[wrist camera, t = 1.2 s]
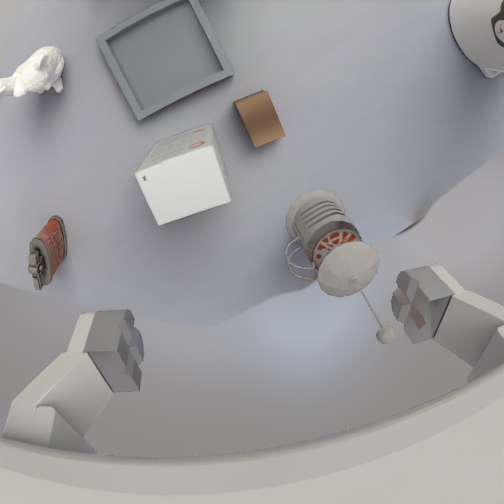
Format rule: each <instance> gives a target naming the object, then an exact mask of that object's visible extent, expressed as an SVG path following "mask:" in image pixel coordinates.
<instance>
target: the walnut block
mask: <svg viewBox="0 0 504 504" xmlns="http://www.w3.org/2000/svg"><path fill="white" fill-rule="evenodd" d="M234 103H235V105H236V108H237V110H238V112H239V114H240V116H241V119H242V121H243V123H244V125H245V128H246V130H247V132H248V134H249V137H250V139H251V141H252V143H253V145H254V147H255V148H257V147H259V146H261V145H264V144H266V143H269V142H271V141H274V140H276V139H279V138H281V137H284V136H285V134H284V131H283V128H282V126H281V123H280V121H279V118H278V116H277V113H276V111H275V109H274V106H273V104H272V101H271V99H270V96H269V94H268V92H267V91H263V90H262V91H259V92H256V93H254V94H251V95H249V96H246V97H244V98H241V99H239V100H237V101H234Z"/></svg>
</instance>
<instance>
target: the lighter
mask: <svg viewBox="0 0 504 504" xmlns="http://www.w3.org/2000/svg"><path fill="white" fill-rule="evenodd" d="M66 254H67V236H66V230H65V226H64V222H63V220H62V218H61V217H59V216H57V215H54V216H52V217H51V218H50V219H49V220H48V223H47V224H46V226H45V227H44V228H43V229H42V230H41V231H40V233H39V234H38V235H37V236H36V237H35V238H33V239H32V241H31V242H30V254H29V256H28V259H29V266H28V271H29V273H32V278H33V282H34V286H35V289H36V290H41V289H42V287H43V285H48V284H49V283H50V282H51V280H52V276H53V274H54V273H55V271H56V269H57V268H58V266H59V264H60V263H61V261H62V260H63V259H64V258H65V257H66Z"/></svg>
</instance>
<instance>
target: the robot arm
mask: <svg viewBox="0 0 504 504" xmlns="http://www.w3.org/2000/svg"><path fill="white" fill-rule="evenodd" d="M449 14H450V23H451V27H452V31H453V34H454V36H455V39H456V41H457V43H458V45H459V47H460V48H461V50H462V51H463V53H464V54H465V55H466V56H467V57H468V58H469V59H470V60H471V61H472V62H474V63H475V64H476V65H477V66H479V68H480V69H481V71H482V72H483V74H484V75H485V76H486V77H487V78H493V77H495V76H497V75H498V74H500V73H502V72H504V0H452V1H451V4H450V11H449ZM396 283H397V284H398V288H397V289H396V290H395V291H394V293H393V296H392V300H391V304H392V311H393V313H394V316H395V317H396V319H397V320H398V321H400V322H401V323H403V324H404V331H405V333H406V334H407V335H408V337H409V339H410V340H411V342H412V343H413V344H416V343H419V342H422V341H426V340H429V339H432V338H434V340H435V341H436V342H438V343H439V344H440V345H442V346H443V347H445V348H446V349H448V350H449V351H451V352H452V353H454V354H455V355H456V356H458V357H459V358H461V359H462V360H464V361H465V362H466V363H468V364H469V365H471V366H472V367H474V368H473V369H472V371H471V372H470V373H469V375H468V377H467V381H468V383H466V384H464V385H462V386H460V387H458V388H456V389H454V390H452V391H450V392H448V393H446V394H444V395H441V396H439V397H437V398H434V399H432V400H430V401H428V402H425V403H423V404H420V405H418V406H415V407H413V408H411V409H408V410H405V411H403V412H400V413H397V414H395V415H392V416H390V417H386V418H383V419H381V420H378V421H375V422H372V423H369V424H365V425H362V426H359V427H355V428H352V429H349V430H345V431H342V432H338V433H334V434H330V435H326V436H323V437H318V438H314V439H310V440H305V441H301V442H296V443H291V444H286V445H281V446H275V447H269V448H263V449H256V450H249V451H242V452H233V453H224V454H213V455H199V456H179V457H133V456H114V455H100V454H97V450H96V449H95V448H94V447H93V446H92V445H91V444H90V443H89V442H88V441H86V440H85V439H84V438H83V437H84V436H85V434H86V433H87V431H88V430H89V428H90V427H91V425H92V424H93V423H94V421H95V420H96V418H97V417H98V415H99V414H100V412H101V411H102V410H103V408H104V407H105V405H106V404H107V403H108V401H109V400H110V398H111V397H112V395H113V392H132V391H140V384H141V375H142V372H141V370H140V368H139V367H138V366H139V365H140V364H141V362H142V361H143V356H144V350H143V349H144V348H143V341H142V337H141V334H140V332H139V330H138V329H136V328H135V327H134V320H135V319H134V317H133V314H132V312H131V311H130V310H128V309H124V310H108V311H97V312H96V311H95V312H83V313H82V314H81V315H80V316H79V319H78V322H77V324H76V327H75V330H74V333H73V335H72V338H71V342H70V344H69V347H68V350H67V353H62V354H61V355H60V356H59V357H57V358H56V359H55V360H54V361H53V362H52V363H51V364H50V365H49V366H48V367H47V368H46V369H45V370H44V371H43V372H42V373H41V374H39V375H38V376H37V377H36V378H35V379H34V380H33V381H32V382H31V383H30V384H29V385H28V386H27V387H26V388H25V389H24V390H23V391H22V392H21V393H20V394H19V395H18V396H17V397H16V398H15V399H14V400H13V402H12V405H11V408H10V411H9V415H8V418H7V422H6V425H5V429H4V432H3V436H2V437H0V504H504V307H503V306H501V305H499V304H497V303H495V302H493V301H490V300H488V299H486V298H484V297H482V296H480V295H477V294H475V293H473V292H471V291H465V290H464V289H463V288H462V287H461V286H460V285H459V283H458V282H457V281H456V280H455V279H454V278H453V277H452V276H451V275H450V274H449V273H448V272H447V271H446V270H445V269H444V268H443V267H442V266H441V265H439V264H433V265H429V266H425V267H420V268H416V269H411V270H406V271H401V272H400V273H399V275H398V277H397V281H396Z"/></svg>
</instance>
